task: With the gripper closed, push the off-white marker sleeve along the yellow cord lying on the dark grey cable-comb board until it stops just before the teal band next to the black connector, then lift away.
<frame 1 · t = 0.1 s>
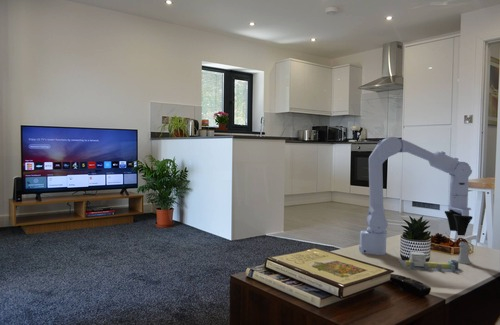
hand: (457, 232, 132), 10 cm above the table, tool pointing down, fingers open, 7 cm apart
rook chess piece: (463, 266, 127), on the table
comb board: (428, 269, 121), on the table
sleeve: (417, 258, 122), point 3 cm above the table, slide at 0.0 cm
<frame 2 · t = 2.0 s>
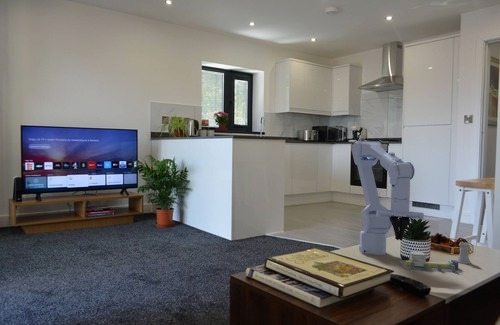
hand: (398, 239, 123), 9 cm above the table, tool pointing down, fingers closed
nothing on the table moved.
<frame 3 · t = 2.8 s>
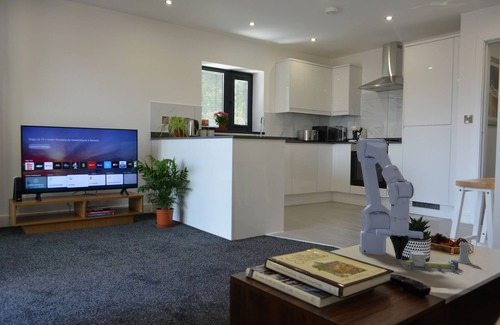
hand: (398, 258, 123), 3 cm above the table, tool pointing down, fingers closed
nothing on the table moved.
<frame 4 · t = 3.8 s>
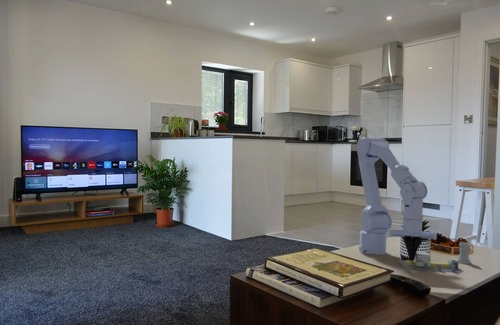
hand: (411, 259, 122), 3 cm above the table, tool pointing down, fingers closed
sleeve: (421, 259, 122), point 3 cm above the table, slide at 1.4 cm, touching gripper
everything else where it was.
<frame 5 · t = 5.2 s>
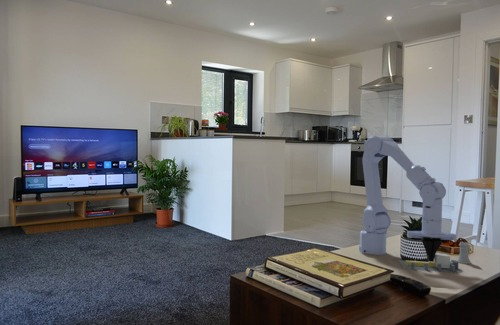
hand: (430, 260, 121), 3 cm above the table, tool pointing down, fingers closed
sleeve: (441, 260, 121), point 3 cm above the table, slide at 7.3 cm, touching gripper
everything else where it was.
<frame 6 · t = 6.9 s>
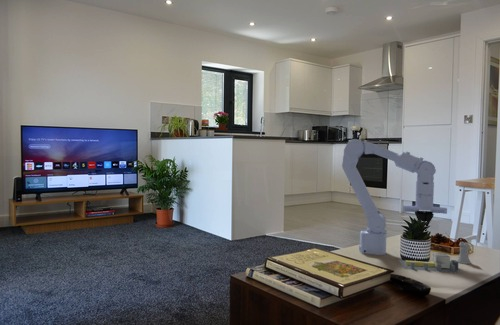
hand: (423, 232, 132), 10 cm above the table, tool pointing down, fingers closed
sleeve: (441, 260, 121), point 3 cm above the table, slide at 7.3 cm
everything else where it was.
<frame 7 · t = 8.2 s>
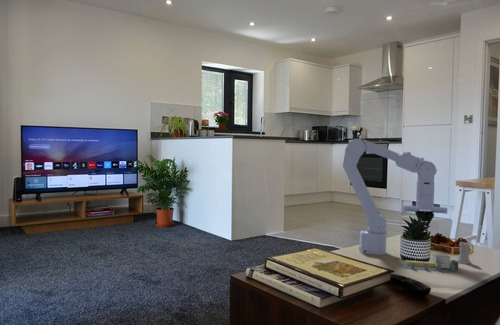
hand: (423, 232, 133), 10 cm above the table, tool pointing down, fingers closed
nothing on the table moved.
at the end: sleeve slide at 7.3 cm; sleeve touching nothing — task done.
